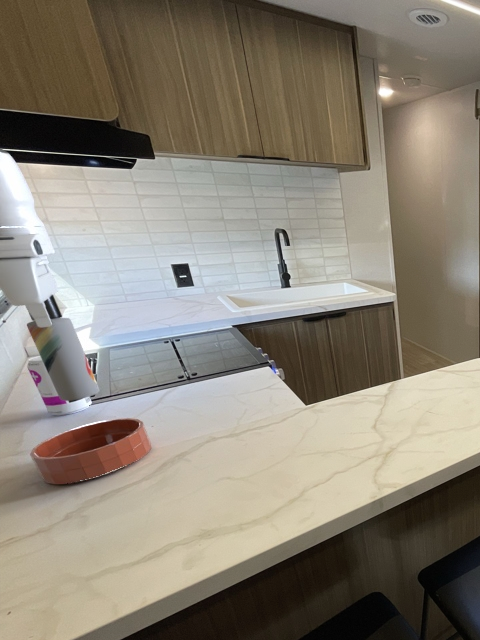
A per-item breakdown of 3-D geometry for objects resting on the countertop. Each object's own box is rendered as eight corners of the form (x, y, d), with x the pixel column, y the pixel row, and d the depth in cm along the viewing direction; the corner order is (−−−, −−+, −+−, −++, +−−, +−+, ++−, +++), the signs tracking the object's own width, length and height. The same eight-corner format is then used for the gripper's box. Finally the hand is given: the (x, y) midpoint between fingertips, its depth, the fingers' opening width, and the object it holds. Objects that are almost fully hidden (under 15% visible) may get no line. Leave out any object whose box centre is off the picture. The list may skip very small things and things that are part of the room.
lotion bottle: (96, 387, 83) (56, 291, 76) (103, 393, 80) (62, 293, 73) (57, 397, 79) (11, 295, 72) (63, 403, 76) (16, 298, 69)
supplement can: (50, 419, 102) (24, 364, 97) (49, 410, 107) (24, 357, 102) (94, 408, 108) (71, 355, 102) (91, 400, 113) (69, 350, 108)
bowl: (37, 498, 71) (21, 469, 69) (51, 461, 83) (38, 435, 81) (153, 463, 81) (142, 437, 79) (151, 434, 93) (142, 411, 91)
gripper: (2, 245, 75) (34, 317, 80) (-31, 247, 60) (11, 336, 65) (50, 243, 79) (78, 312, 84) (30, 245, 64) (66, 329, 69)
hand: (49, 323), depth 74 cm, fingers closed on lotion bottle, 5 cm apart
